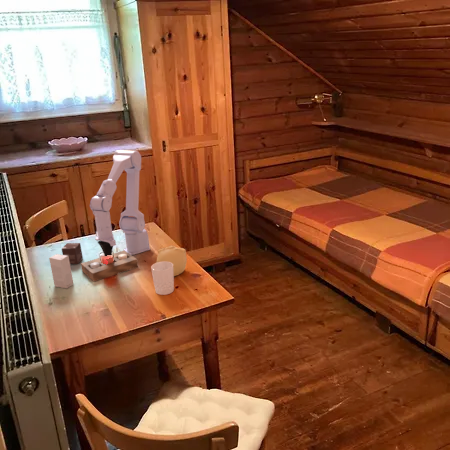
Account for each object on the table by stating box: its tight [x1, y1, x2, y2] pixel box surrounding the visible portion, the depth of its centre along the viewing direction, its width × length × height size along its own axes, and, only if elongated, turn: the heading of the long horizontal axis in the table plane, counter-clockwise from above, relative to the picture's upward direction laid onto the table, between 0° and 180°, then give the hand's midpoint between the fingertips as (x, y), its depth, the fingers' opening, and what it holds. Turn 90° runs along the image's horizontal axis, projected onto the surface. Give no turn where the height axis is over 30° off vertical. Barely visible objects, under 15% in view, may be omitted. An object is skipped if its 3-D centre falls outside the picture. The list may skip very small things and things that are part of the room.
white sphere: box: [90, 262, 100, 269], centre depth 197 cm, size 4×4×4 cm
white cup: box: [150, 261, 175, 296], centre depth 180 cm, size 8×8×10 cm
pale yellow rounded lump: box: [156, 245, 188, 277], centre depth 194 cm, size 12×12×11 cm
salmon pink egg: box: [106, 257, 114, 264], centre depth 200 cm, size 4×4×4 cm
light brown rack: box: [80, 250, 139, 282], centre depth 201 cm, size 19×12×4 cm, turn 127°
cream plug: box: [118, 254, 127, 260], centre depth 204 cm, size 4×4×4 cm
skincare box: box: [49, 253, 74, 289], centre depth 188 cm, size 6×4×12 cm
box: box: [61, 242, 83, 265], centre depth 209 cm, size 6×6×7 cm
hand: (108, 257), depth 199 cm, fingers closed, pressing on salmon pink egg
